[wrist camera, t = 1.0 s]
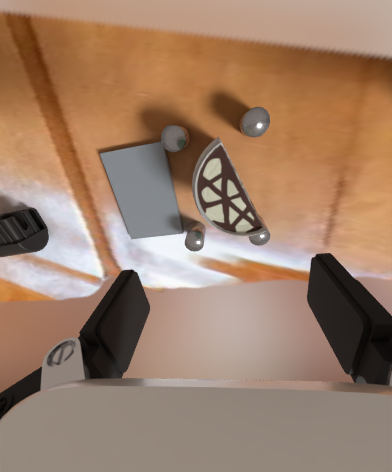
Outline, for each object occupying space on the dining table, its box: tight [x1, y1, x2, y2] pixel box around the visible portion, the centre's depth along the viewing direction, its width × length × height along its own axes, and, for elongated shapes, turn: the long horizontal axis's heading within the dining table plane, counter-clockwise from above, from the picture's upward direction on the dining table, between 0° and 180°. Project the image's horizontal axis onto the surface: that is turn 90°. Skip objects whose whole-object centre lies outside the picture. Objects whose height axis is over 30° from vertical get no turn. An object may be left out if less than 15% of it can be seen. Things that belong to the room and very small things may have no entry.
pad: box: [100, 142, 184, 239], centre depth 33 cm, size 10×15×1 cm, turn 10°
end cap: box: [0, 208, 49, 257], centre depth 36 cm, size 10×7×7 cm
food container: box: [192, 137, 266, 236], centre depth 27 cm, size 12×6×10 cm, turn 32°
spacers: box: [161, 107, 270, 251], centre depth 29 cm, size 13×18×5 cm
